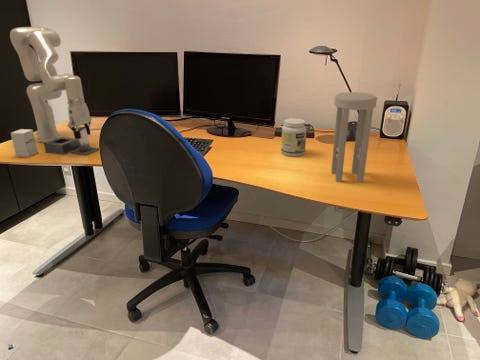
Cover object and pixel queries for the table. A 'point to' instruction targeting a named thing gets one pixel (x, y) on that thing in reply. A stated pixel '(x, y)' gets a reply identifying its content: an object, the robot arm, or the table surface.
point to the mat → (85, 152)
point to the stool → (365, 107)
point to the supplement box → (24, 143)
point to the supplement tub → (293, 137)
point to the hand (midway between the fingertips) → (82, 136)
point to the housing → (61, 145)
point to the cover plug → (83, 140)
